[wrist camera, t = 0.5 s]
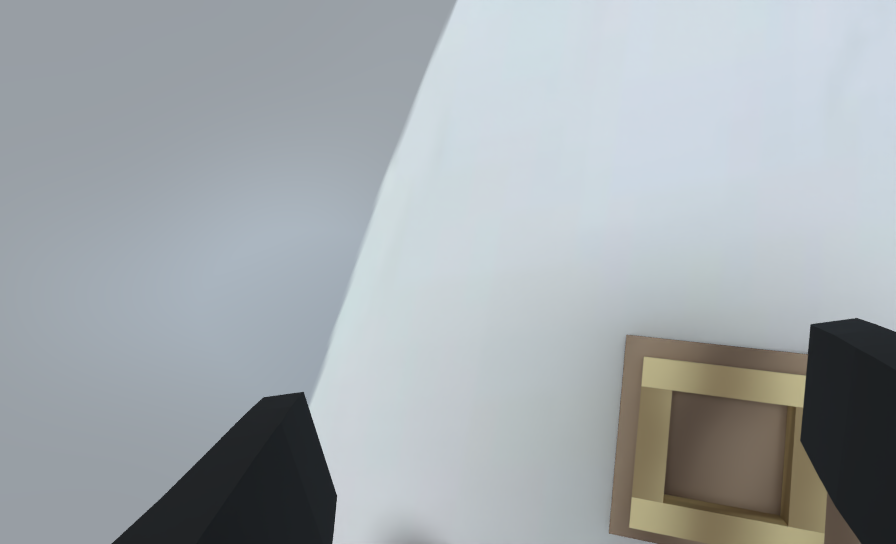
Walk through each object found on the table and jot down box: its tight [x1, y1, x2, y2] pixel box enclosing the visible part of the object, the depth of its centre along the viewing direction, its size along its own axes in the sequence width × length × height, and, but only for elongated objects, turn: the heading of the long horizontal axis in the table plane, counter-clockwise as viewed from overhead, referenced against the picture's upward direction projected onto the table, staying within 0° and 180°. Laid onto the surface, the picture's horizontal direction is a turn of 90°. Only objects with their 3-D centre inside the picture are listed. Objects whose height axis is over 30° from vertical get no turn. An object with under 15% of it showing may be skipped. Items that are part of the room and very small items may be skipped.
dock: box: [609, 335, 861, 544], centre depth 28 cm, size 22×10×3 cm, turn 83°
